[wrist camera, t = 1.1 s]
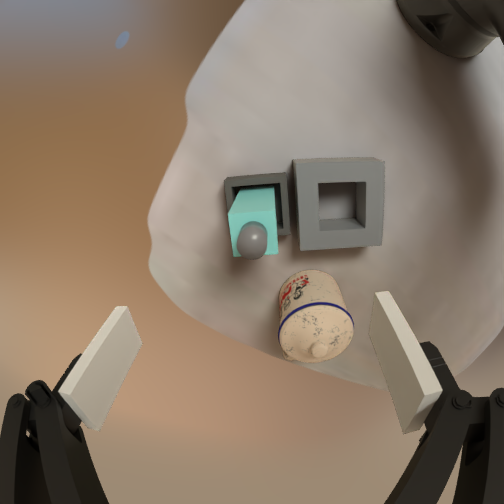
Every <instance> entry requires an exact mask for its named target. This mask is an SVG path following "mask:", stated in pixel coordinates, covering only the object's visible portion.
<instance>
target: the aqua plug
mask: <svg viewBox="0 0 504 504" xmlns="http://www.w3.org/2000/svg"><path fill="white" fill-rule="evenodd" d="M228 220H229V227H230V234H231V242H232V249H233V256H234V257H240V256H243V257H244V258H246V259H250V260H254V259H258V258H260V257H262V256H263V255H271V254H278V238H277V220H276V206H275V194H274V185H273V186H260V187H248V188H241V189H240V191H239V193H238V195H237V197H236V199H235V201H234V203H233V205H232V207H231V209H230V211H229V213H228Z"/></svg>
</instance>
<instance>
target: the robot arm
mask: <svg viewBox="0 0 504 504" xmlns="http://www.w3.org/2000/svg"><path fill="white" fill-rule="evenodd" d="M397 2H398V5H399V7H400V10H401V11H402V13H403V15H404V17H405V18H406V20H407V21H408V23H409V24H410V25H411V27H412V28H413V29H414V30H415V31H416V32H417V33H418V35H419V36H420V37H422V38H423V39H424V40H425V41H426V42H427V43H428V44H430V45H431V46H432V47H434V48H435V49H437V50H438V51H440V52H442V53H444V54H446V55H449V56H452V57H456V58H466V57H471V56H475V55H477V54H479V53H481V52H482V51H483V50H484V48H485V47H486V46H487V45H489V44H490V43H491V42H492V41H493V40H494V39H495V38H496V37H500V39H501V41H502V43H503V45H504V0H397ZM369 336H370V339H371V341H372V344H373V346H374V349H375V352H376V354H377V357H378V360H379V362H380V365H381V368H382V371H383V374H384V376H385V379H386V382H387V385H388V388H389V391H390V393H391V397H392V400H393V403H394V406H395V409H396V412H397V415H398V419H399V422H400V425H401V428H402V432H403V434H406V433H409V432H413V431H417V430H419V429H420V428H421V426H422V425H423V423H425V426H426V429H427V430H426V431H425V433H424V434H423V436H422V437H421V438H420V440H419V441H420V443H419V445H418V447H417V449H416V451H415V453H414V455H413V457H412V459H411V460H410V462H409V464H408V466H407V468H406V470H405V471H404V473H403V475H402V476H401V478H400V480H399V482H398V483H397V485H396V486H395V488H394V489H393V491H392V492H391V494H390V495H389V497H388V499H387V500H386V501H385V503H384V504H436V503H437V502H438V500H439V498H440V496H441V494H442V492H443V490H444V488H445V486H446V484H447V481H448V479H449V477H450V475H451V472H452V470H453V468H454V465H455V463H456V461H457V458H458V455H459V453H460V450H461V448H462V445H463V448H462V456H461V463H460V469H459V476H458V480H457V486H456V490H455V495H454V499H453V503H452V504H504V388H497V389H496V390H494V391H493V392H492V394H491V395H490V397H472V396H471V395H470V394H469V393H468V392H466V391H465V390H460V389H459V387H458V385H457V383H456V381H455V379H454V377H453V376H452V374H451V372H450V370H449V368H448V366H447V364H445V361H444V359H443V358H442V356H441V354H440V352H439V350H438V349H437V347H435V346H434V345H433V344H432V343H431V342H429V341H428V342H424V343H418V341H417V339H416V337H415V335H414V333H413V332H412V330H411V328H410V326H409V325H408V323H407V321H406V319H405V318H404V316H403V314H402V312H401V311H400V309H399V307H398V306H397V304H396V302H395V301H394V299H393V297H392V296H391V294H390V293H389V291H384V292H375V296H374V303H373V310H372V317H371V324H370V330H369ZM141 346H142V341H141V339H140V336H139V334H138V331H137V329H136V327H135V324H134V322H133V319H132V316H131V314H130V311H129V309H128V307H127V306H117V307H116V308H115V309H114V311H113V312H112V313H111V315H110V316H109V317H108V319H107V320H106V321H105V323H104V324H103V326H102V327H101V328H100V330H99V331H98V333H97V334H96V335H95V337H94V338H93V340H92V341H91V342H90V344H89V345H88V347H87V348H86V350H85V351H84V353H83V354H79V355H78V356H77V357H76V358H74V359H73V361H72V362H71V363H70V365H69V368H67V369H66V371H65V373H64V374H63V376H62V377H61V378H60V380H59V382H58V383H57V385H56V386H55V388H54V389H53V391H51V390H50V389H49V387H48V386H47V385H46V383H45V382H44V381H41V380H37V381H34V382H32V383H31V384H30V385H29V386H28V387H27V389H26V391H25V395H26V396H27V397H28V398H29V399H30V400H27V399H26V398H25V397H24V395H22V394H19V393H18V394H15V395H13V396H12V397H11V398H10V399H9V401H8V403H7V407H6V411H5V415H4V420H3V425H2V430H1V435H0V504H109V502H108V500H107V498H106V495H105V493H104V491H103V488H102V486H101V483H100V481H99V479H98V476H97V473H96V471H95V468H94V465H93V462H92V459H91V456H90V453H89V450H88V447H87V444H86V440H85V437H84V433H83V430H82V428H81V426H79V425H80V423H81V421H82V422H83V423H84V424H85V425H86V426H87V428H90V429H93V430H97V431H100V430H101V427H102V425H103V423H104V421H105V419H106V417H107V414H108V412H109V410H110V408H111V406H112V404H113V402H114V400H115V398H116V396H117V393H118V391H119V389H120V387H121V385H122V383H123V381H124V379H125V377H126V375H127V373H128V371H129V369H130V367H131V365H132V363H133V361H134V359H135V357H136V355H137V353H138V351H139V350H140V348H141ZM26 431H28V432H29V433H30V435H29V437H28V436H27V435H26Z"/></svg>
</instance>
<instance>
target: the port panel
mask: <svg viewBox="0 0 504 504" xmlns="http://www.w3.org/2000/svg"><path fill="white" fill-rule="evenodd" d="M293 169H294V184H295V200H296V217H297V238H298V243H299V247H300V251H306V250H321V249H336V248H351V247H365V246H380V245H382V234H383V217H384V188H385V162H384V161H382V160H379V159H375V158H315V159H295V160H293ZM331 182H356V218H346V219H328V220H319V197H318V183H331Z"/></svg>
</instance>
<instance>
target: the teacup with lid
mask: <svg viewBox="0 0 504 504" xmlns="http://www.w3.org/2000/svg"><path fill="white" fill-rule="evenodd" d="M279 309H280V327H279V332H278V339H279V343H280V345H281V347H282V349H283V357H284V358H285V359H286V360H290V361H291V360H294V359H296V360H298V361H302V362H308V363H316V362H322V361H326V360H329V359H332V358H334V357H335V356H337V355H339V354H340V353H341V352H342V351H344V350H345V349H346V347H347V346H348V345H349V343H350V341H351V339H352V337H353V332H354V323H353V320H352V317H351V316H350V314H349V313H348V311H347V309H346V306H345V303H344V300H343V298H342V295H341V292H340V290H339V287H338V285H337V283H336V281H335V280H334V279H333V278H332V277H331V276H330V275H328V274H327V273H325V272H322V271H318V270H305V271H301V272H298V273H296V274H294V275H293V276H291V277H290V278H289V279H288V280H287V281H286V282H285V283H284V284H283V286H282V288H281V290H280V295H279Z"/></svg>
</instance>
